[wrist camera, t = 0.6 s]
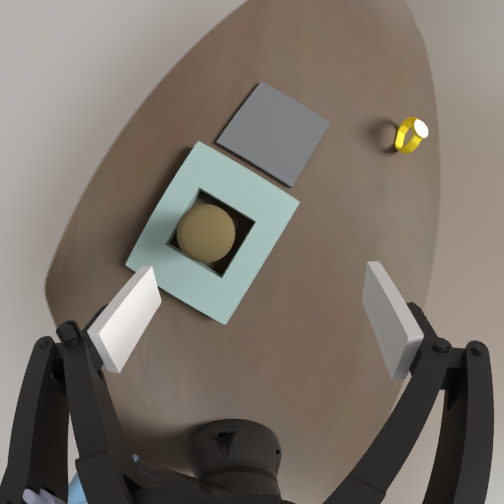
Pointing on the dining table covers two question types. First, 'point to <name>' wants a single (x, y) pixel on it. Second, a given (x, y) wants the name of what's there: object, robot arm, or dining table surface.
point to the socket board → (232, 195)
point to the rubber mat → (274, 133)
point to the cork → (206, 233)
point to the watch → (419, 133)
